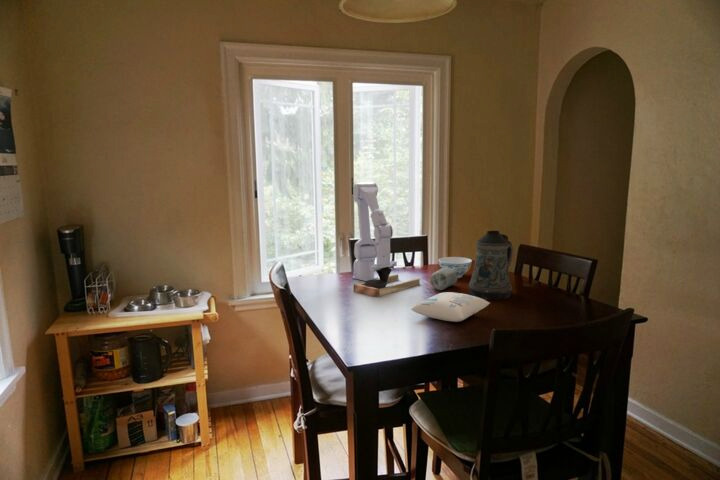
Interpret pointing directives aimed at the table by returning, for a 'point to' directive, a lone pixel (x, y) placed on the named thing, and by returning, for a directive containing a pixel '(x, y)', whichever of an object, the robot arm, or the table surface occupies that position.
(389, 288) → the guide track
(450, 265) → the chinaware
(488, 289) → the beer stein
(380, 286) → the smart speaker
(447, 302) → the pouch
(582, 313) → the table surface
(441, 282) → the streaked ceramic egg
